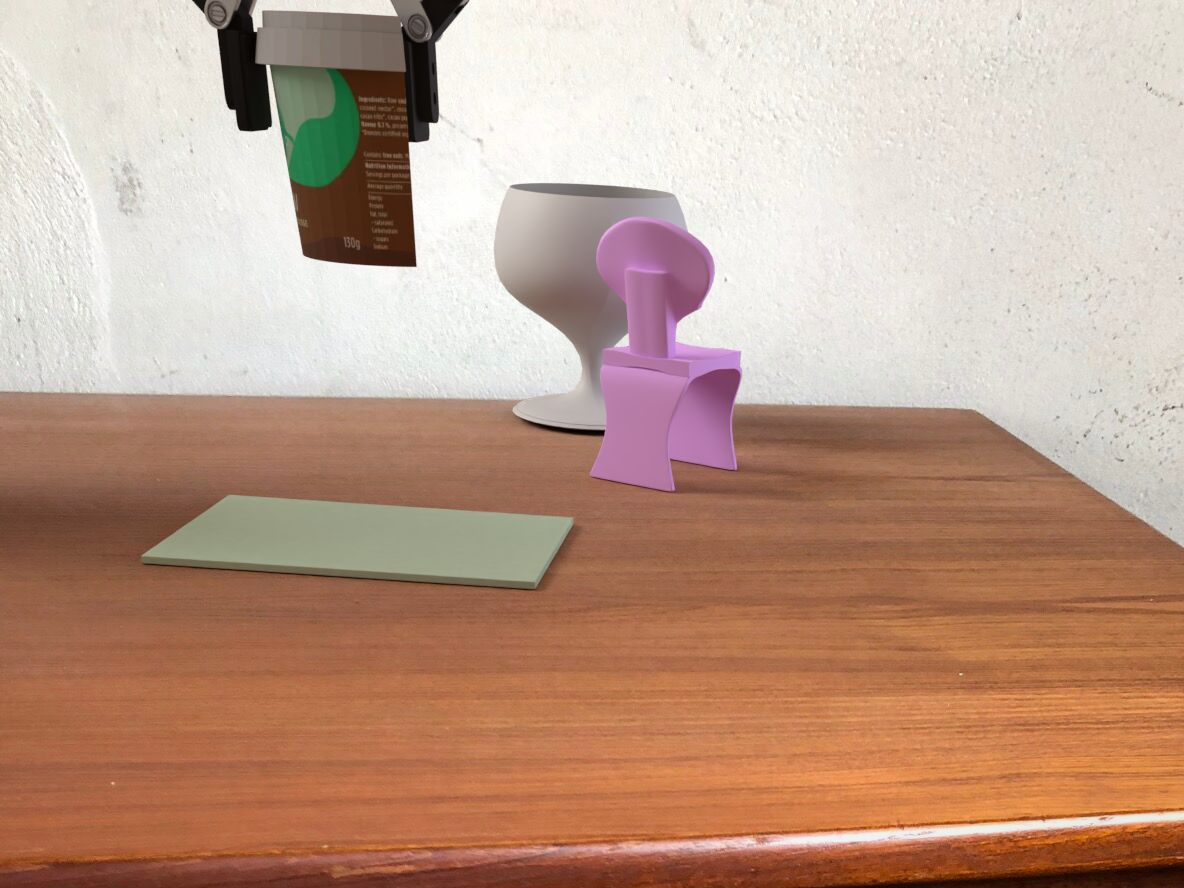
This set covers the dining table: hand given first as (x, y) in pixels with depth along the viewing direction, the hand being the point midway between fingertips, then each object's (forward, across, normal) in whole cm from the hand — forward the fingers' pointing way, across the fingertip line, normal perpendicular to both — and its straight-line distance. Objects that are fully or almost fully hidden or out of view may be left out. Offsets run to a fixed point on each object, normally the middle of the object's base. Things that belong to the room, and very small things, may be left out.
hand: (335, 132), depth 72 cm
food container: (+5, 0, 0) cm, 5 cm away
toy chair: (+19, -14, -20) cm, 31 cm away
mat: (+19, 0, +1) cm, 19 cm away
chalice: (+19, -8, -36) cm, 41 cm away
